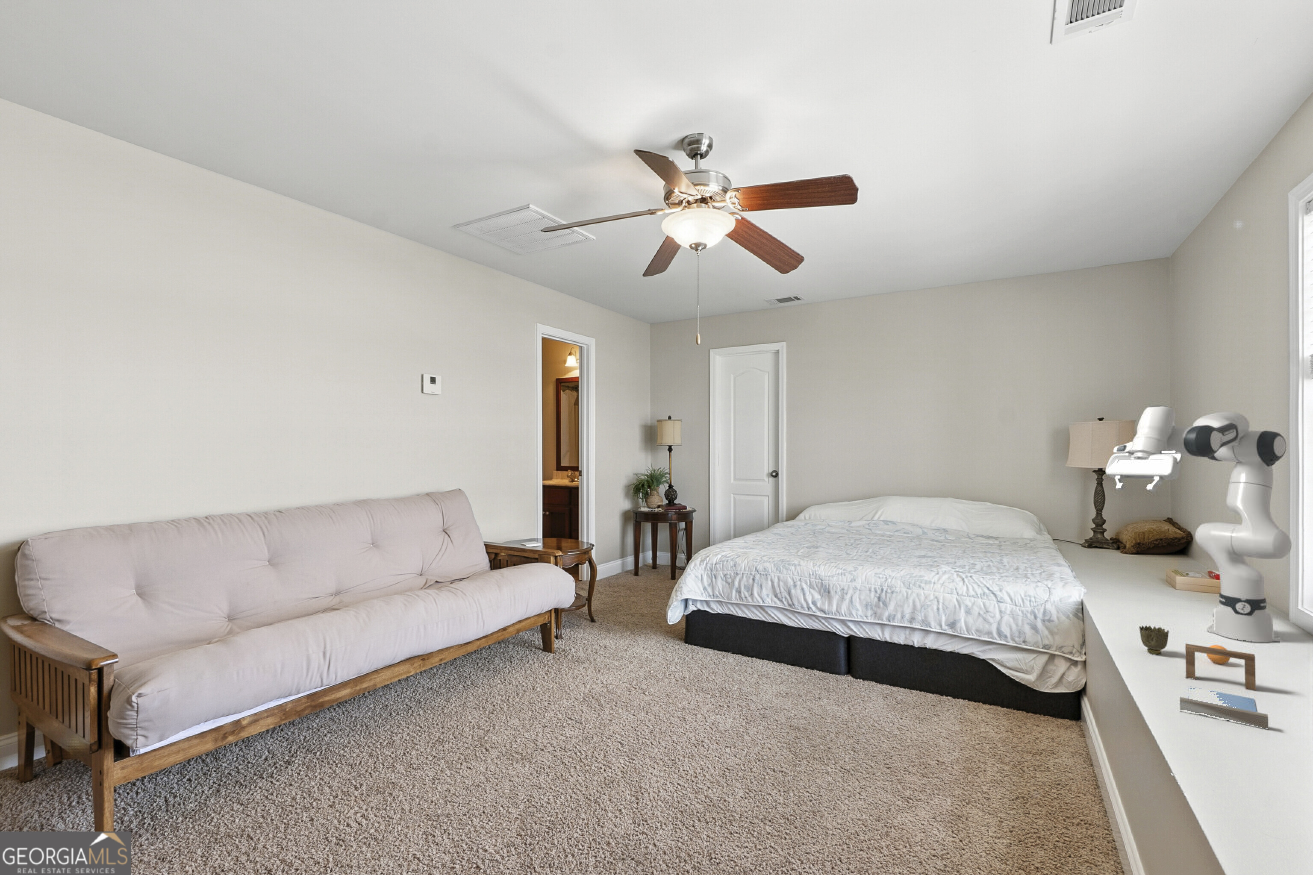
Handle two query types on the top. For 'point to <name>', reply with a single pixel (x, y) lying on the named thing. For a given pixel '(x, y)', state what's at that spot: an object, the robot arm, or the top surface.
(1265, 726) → the wall
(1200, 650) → the bridge
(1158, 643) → the cup
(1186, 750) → the top surface
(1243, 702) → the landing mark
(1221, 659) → the ball
